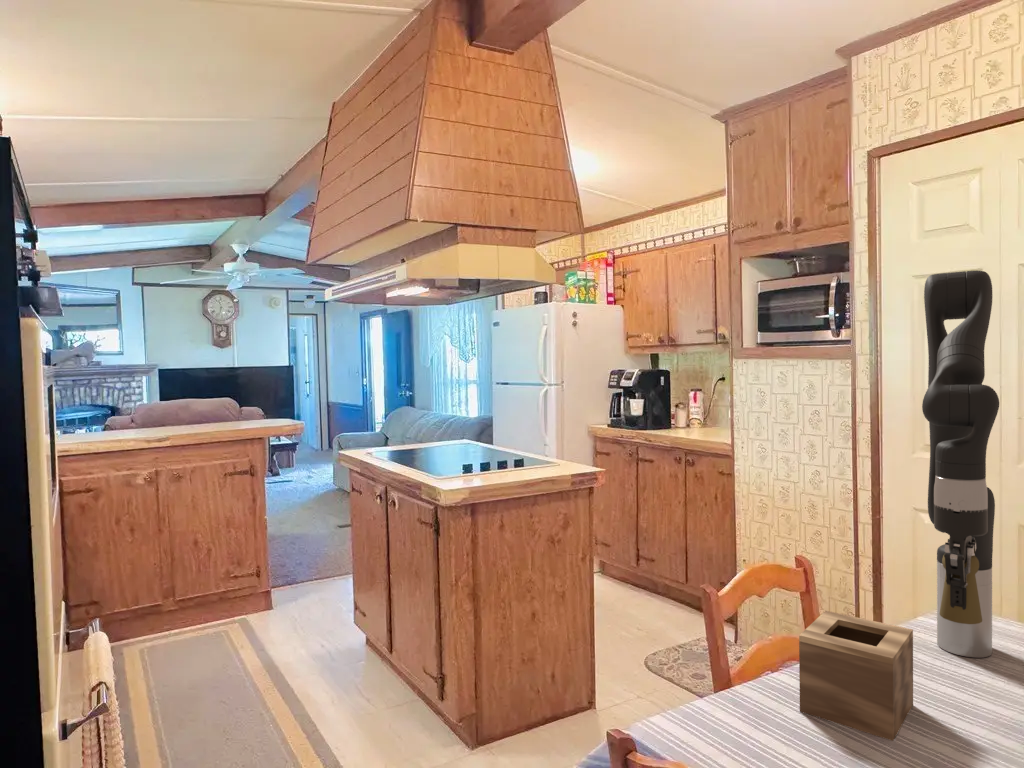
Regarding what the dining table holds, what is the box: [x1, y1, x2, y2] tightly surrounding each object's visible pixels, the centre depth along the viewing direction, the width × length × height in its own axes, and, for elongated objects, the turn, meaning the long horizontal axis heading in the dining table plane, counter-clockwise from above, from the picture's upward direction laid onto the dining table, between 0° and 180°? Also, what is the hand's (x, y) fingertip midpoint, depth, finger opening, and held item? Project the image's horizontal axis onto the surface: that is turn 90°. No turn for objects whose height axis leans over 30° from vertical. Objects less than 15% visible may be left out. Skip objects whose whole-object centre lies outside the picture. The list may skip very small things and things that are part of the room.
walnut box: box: [798, 610, 914, 742], centre depth 114 cm, size 14×14×13 cm
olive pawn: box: [940, 555, 982, 624], centre depth 114 cm, size 6×6×11 cm
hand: (960, 603), depth 114 cm, fingers closed on olive pawn, 4 cm apart
